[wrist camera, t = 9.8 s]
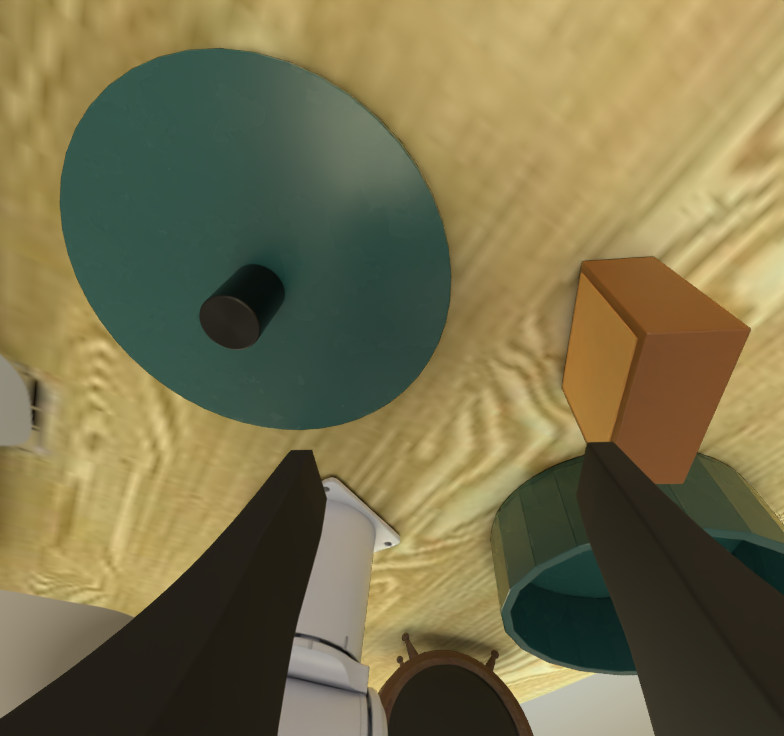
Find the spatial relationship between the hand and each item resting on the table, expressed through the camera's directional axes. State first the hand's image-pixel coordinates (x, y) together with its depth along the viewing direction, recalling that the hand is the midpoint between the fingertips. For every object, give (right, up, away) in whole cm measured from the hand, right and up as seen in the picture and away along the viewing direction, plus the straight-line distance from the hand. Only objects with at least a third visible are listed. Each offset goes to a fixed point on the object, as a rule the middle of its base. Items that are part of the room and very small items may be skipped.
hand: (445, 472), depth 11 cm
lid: (-8, +7, +8) cm, 13 cm away
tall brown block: (+9, +5, +9) cm, 13 cm away
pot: (+14, -9, +17) cm, 24 cm away
